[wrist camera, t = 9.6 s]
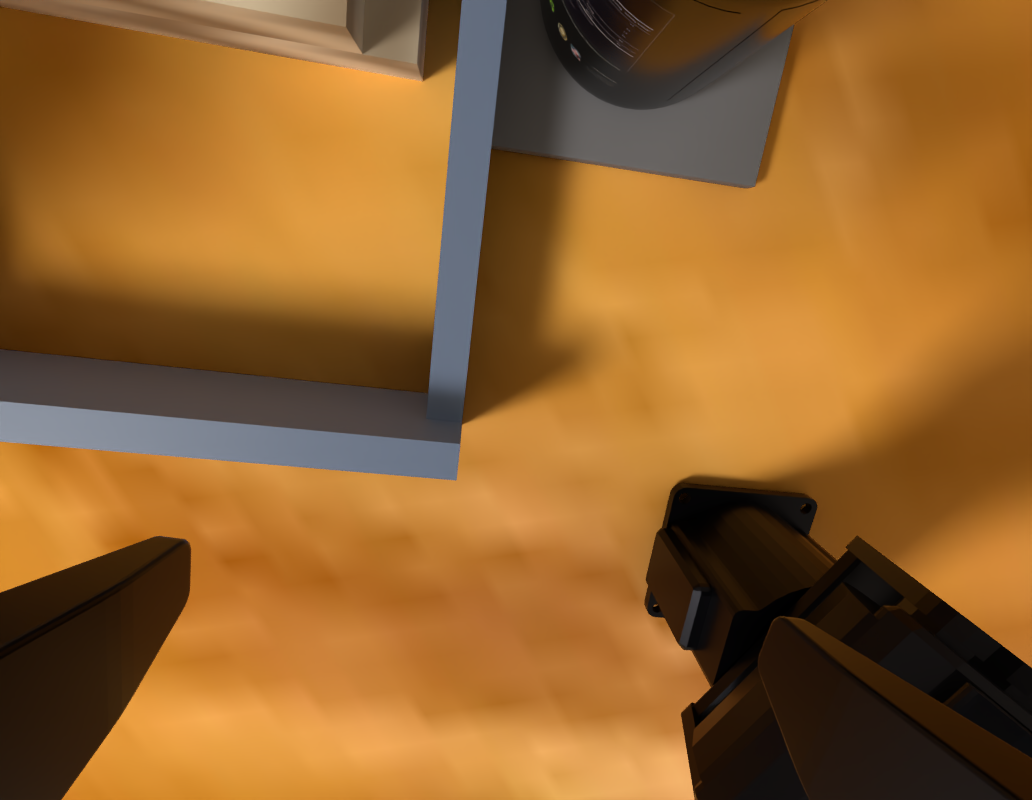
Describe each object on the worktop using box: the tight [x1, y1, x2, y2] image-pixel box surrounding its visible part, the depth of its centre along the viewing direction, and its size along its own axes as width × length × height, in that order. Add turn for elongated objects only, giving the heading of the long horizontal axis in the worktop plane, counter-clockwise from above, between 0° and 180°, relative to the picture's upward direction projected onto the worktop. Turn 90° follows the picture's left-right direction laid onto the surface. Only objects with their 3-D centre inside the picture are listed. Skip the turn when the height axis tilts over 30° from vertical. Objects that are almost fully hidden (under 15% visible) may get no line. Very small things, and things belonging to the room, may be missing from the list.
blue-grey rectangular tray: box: [0, 0, 507, 480], centre depth 15 cm, size 19×16×5 cm
